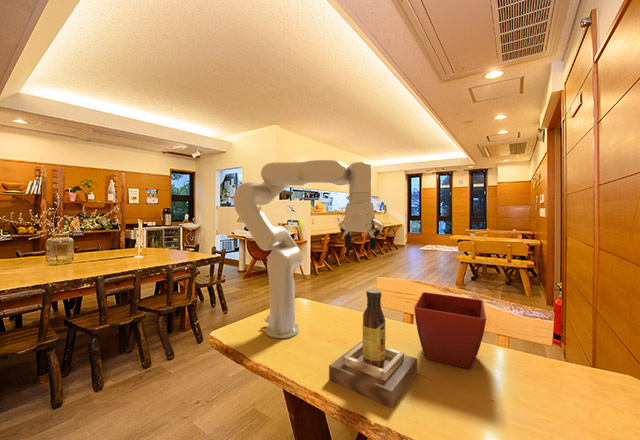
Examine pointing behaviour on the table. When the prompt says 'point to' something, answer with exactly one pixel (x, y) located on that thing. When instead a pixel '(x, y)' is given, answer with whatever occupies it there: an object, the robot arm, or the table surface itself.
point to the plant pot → (450, 328)
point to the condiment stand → (374, 374)
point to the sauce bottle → (374, 330)
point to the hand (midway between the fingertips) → (359, 248)
